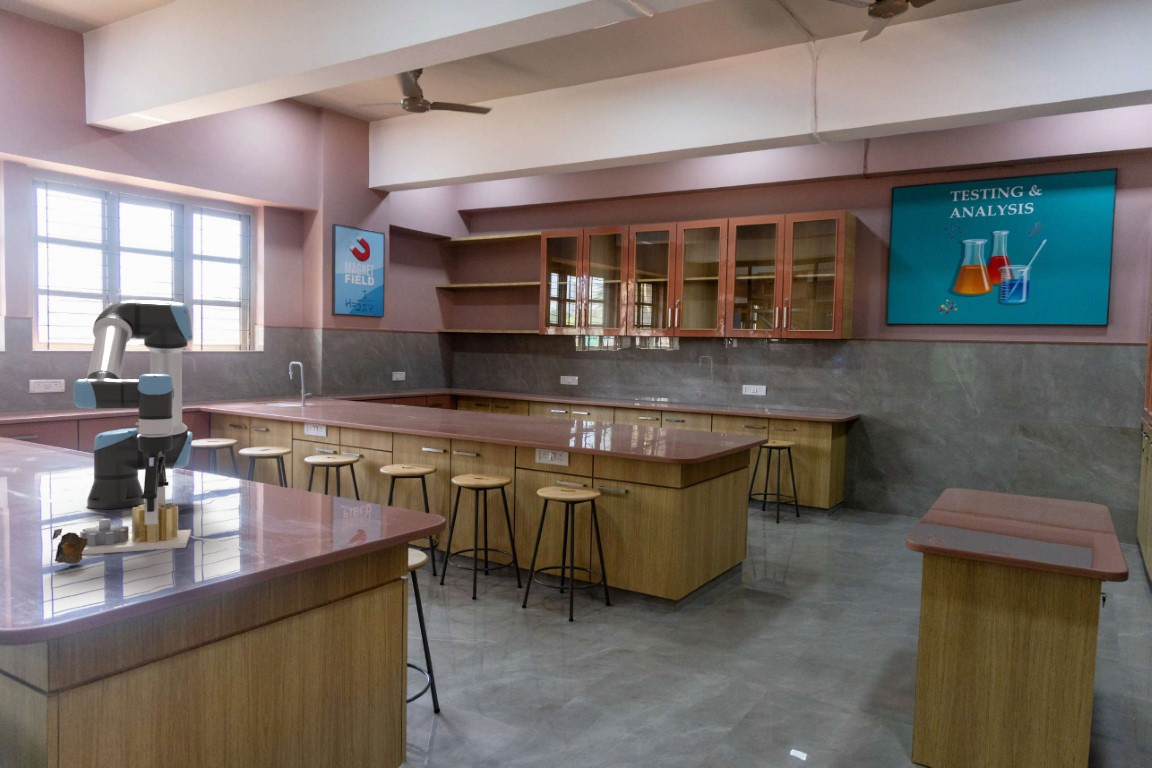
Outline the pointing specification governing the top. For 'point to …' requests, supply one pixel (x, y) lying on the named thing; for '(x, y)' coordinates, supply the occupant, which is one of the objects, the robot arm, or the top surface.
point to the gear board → (124, 539)
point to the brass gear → (155, 532)
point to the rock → (69, 547)
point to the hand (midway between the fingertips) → (155, 517)
